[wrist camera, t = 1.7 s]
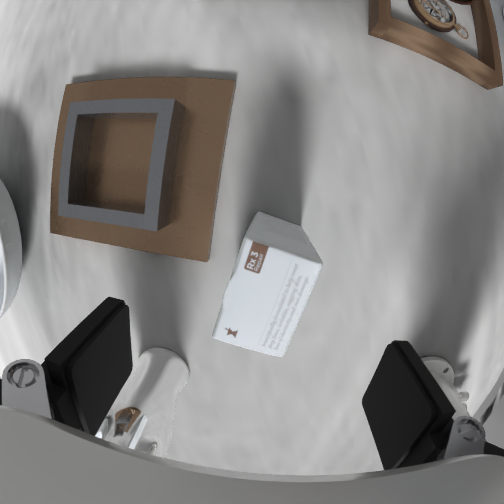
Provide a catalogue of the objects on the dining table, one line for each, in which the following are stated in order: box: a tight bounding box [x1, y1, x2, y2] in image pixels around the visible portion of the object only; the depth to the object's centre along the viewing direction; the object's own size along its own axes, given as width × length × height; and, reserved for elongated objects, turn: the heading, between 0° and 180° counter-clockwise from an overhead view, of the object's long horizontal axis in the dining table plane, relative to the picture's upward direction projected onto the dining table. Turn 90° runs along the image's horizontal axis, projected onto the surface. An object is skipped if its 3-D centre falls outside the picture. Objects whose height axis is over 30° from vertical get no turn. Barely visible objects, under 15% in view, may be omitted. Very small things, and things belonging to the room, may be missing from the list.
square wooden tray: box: [369, 0, 503, 90], centre depth 16 cm, size 15×15×3 cm
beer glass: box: [95, 347, 189, 458], centre depth 23 cm, size 7×7×15 cm
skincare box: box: [212, 211, 323, 357], centre depth 20 cm, size 6×4×12 cm
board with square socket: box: [50, 77, 236, 262], centre depth 23 cm, size 18×16×4 cm
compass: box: [408, 0, 477, 39], centre depth 14 cm, size 8×8×7 cm
